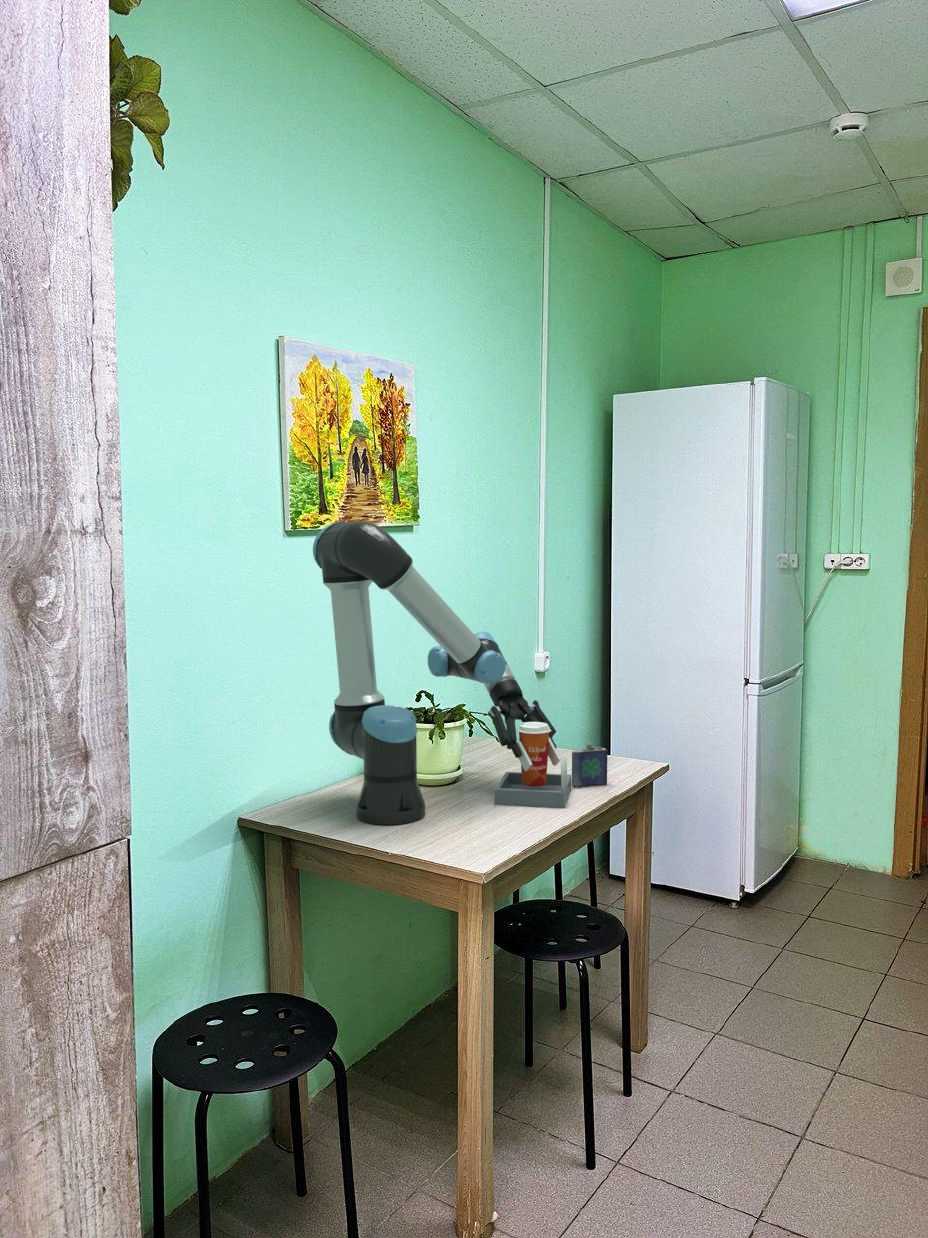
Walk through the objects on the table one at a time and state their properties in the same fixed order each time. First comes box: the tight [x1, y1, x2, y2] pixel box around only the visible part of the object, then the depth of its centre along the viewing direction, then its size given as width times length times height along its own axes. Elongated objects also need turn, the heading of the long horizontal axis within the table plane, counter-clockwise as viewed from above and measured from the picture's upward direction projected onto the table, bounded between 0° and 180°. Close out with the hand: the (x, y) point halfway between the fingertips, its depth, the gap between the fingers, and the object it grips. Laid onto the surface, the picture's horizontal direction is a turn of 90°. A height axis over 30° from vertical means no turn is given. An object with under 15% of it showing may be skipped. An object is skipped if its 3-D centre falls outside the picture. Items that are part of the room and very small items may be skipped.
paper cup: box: [517, 722, 551, 786], centre depth 214 cm, size 8×8×14 cm
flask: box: [571, 741, 609, 789], centre depth 224 cm, size 9×3×11 cm, turn 105°
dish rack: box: [493, 756, 572, 809], centre depth 215 cm, size 16×16×10 cm
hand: (543, 765), depth 212 cm, fingers closed on paper cup, 8 cm apart
